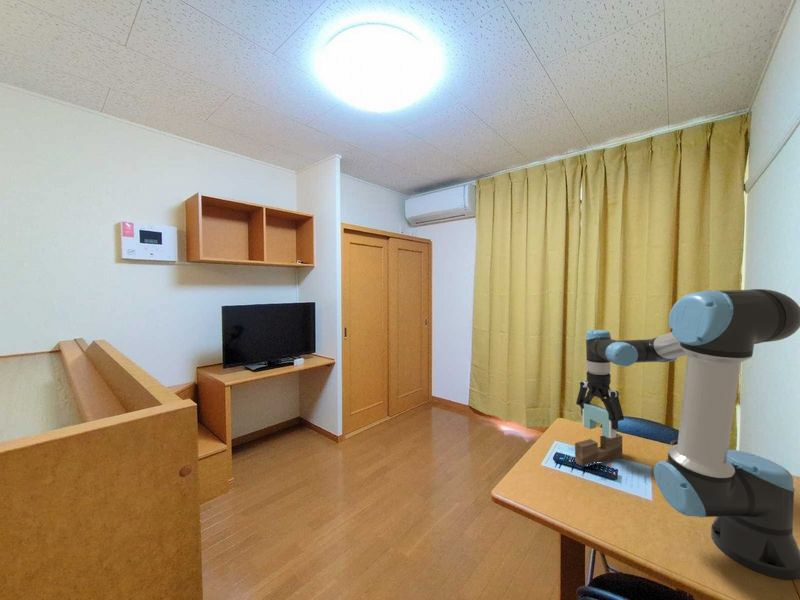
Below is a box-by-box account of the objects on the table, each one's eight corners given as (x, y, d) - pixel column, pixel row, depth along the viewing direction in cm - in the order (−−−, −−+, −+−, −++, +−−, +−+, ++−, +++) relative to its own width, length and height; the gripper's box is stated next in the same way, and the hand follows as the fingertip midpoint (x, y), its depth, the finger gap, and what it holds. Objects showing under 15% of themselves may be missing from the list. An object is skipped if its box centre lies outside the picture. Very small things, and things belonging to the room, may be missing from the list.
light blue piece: (614, 436, 114) (614, 411, 114) (608, 438, 113) (608, 413, 113) (589, 425, 124) (589, 402, 123) (584, 426, 123) (583, 403, 122)
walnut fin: (622, 456, 121) (622, 436, 121) (582, 468, 114) (582, 446, 114) (614, 452, 124) (614, 432, 123) (575, 464, 117) (575, 442, 117)
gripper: (636, 378, 108) (637, 442, 109) (579, 363, 129) (580, 417, 131) (621, 381, 106) (621, 447, 107) (565, 366, 127) (566, 420, 128)
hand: (598, 430), depth 119 cm, fingers closed on light blue piece, 10 cm apart
